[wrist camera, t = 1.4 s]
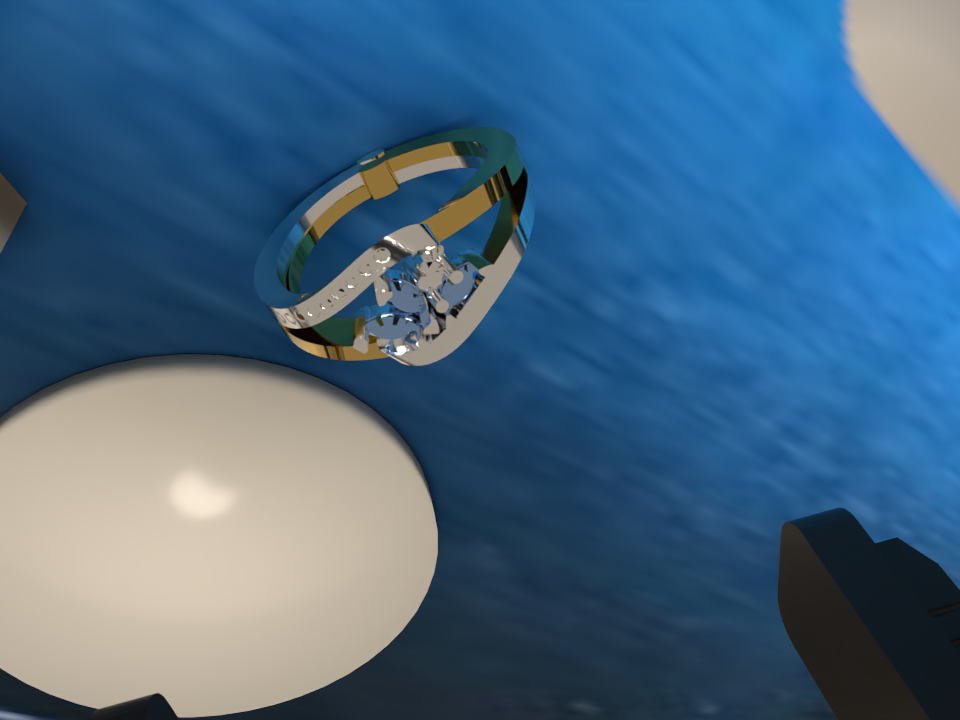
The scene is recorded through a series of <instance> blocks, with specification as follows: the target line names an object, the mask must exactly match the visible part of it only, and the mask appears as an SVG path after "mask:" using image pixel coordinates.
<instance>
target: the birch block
mask: <svg viewBox="0 0 960 720" xmlns="http://www.w3.org/2000/svg"><path fill="white" fill-rule="evenodd" d="M26 204H27V202H26V201H25V200H24V199H23V198H22V197H21V196H20V195H19V193H18V192H17V191H16V190H15V189H14V188H13V187H12V186H11V184H10V183H9V182H8V181H7V180H6V179H5V178H4V176H3V175H2V174H1V173H0V253H1V251H2V249H3V247H4V246H5V244H6V242H7V240H8V238H9V236H10V234H11V232H12V231H13V229H14V227H15V225H16V223H17V221H18V219H19V217H20V216H21V214H22V212H23V210H24V208H25V206H26Z"/></svg>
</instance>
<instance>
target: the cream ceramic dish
mask: <svg viewBox="0 0 960 720" xmlns="http://www.w3.org/2000/svg"><path fill="white" fill-rule="evenodd" d="M437 554H438V531H437V525H436V520H435V515H434V509H433V505H432V500H431V496H430V491H429V486H428V484H427V481H426V479H425V476H424V473H423V471H422V468H421V466H420V464H419V462H418V461H417V459H416V457H415V456H414V454H413V452H412V451H411V449H410V447H409V446H408V444H407V443H406V442H405V441H404V440H403V438H402V437H401V436H400V435H399V434H398V432H397V431H396V430H395V429H394V428H393V427H392V426H391V425H390V424H389V423H388V422H387V421H386V420H385V419H383V418H382V417H381V416H380V415H379V414H378V413H377V412H376V411H374V410H373V409H372V408H371V407H369V406H368V405H366V404H365V403H363V402H362V401H360V400H359V399H357V398H356V397H354V396H353V395H351V394H350V393H348V392H346V391H344V390H342V389H340V388H338V387H336V386H334V385H332V384H330V383H328V382H326V381H324V380H322V379H320V378H317V377H314V376H312V375H309V374H306V373H303V372H300V371H297V370H295V369H292V368H289V367H285V366H281V365H277V364H272V363H268V362H264V361H260V360H255V359H248V358H240V357H232V356H224V355H201V354H177V355H166V356H154V357H144V358H138V359H133V360H128V361H123V362H118V363H112V364H108V365H105V366H101V367H98V368H95V369H92V370H88V371H85V372H82V373H79V374H75V375H73V376H71V377H68V378H66V379H64V380H62V381H59V382H57V383H55V384H53V385H50V386H48V387H46V388H44V389H42V390H40V391H38V392H37V393H35V394H33V395H32V396H30V397H28V398H27V399H25V400H24V401H22V402H20V403H19V404H17V405H15V406H14V407H13V408H11V409H10V410H9V411H8V412H6V413H5V414H4V415H3V416H2V417H0V668H1V669H3V670H4V671H6V672H8V673H9V674H11V675H13V676H15V677H16V678H18V679H20V680H21V681H23V682H25V683H27V684H29V685H31V686H33V687H35V688H38V689H40V690H42V691H44V692H46V693H49V694H51V695H54V696H56V697H59V698H62V699H65V700H68V701H71V702H74V703H77V704H81V705H85V706H89V707H93V708H97V709H100V708H104V707H108V706H111V705H115V704H119V703H122V702H126V701H129V700H133V699H137V698H140V697H144V696H148V695H151V694H155V693H159V694H161V695H163V696H164V697H165V699H166V700H167V701H168V703H169V704H170V706H171V707H172V709H173V711H174V712H175V714H176V715H177V717H201V716H214V715H224V714H230V713H237V712H243V711H249V710H253V709H258V708H262V707H266V706H271V705H275V704H278V703H281V702H284V701H287V700H290V699H294V698H297V697H300V696H302V695H305V694H307V693H310V692H312V691H314V690H317V689H319V688H322V687H324V686H326V685H328V684H330V683H332V682H334V681H336V680H338V679H340V678H342V677H343V676H345V675H347V674H349V673H350V672H352V671H353V670H355V669H357V668H358V667H360V666H361V665H363V664H364V663H366V662H367V661H369V660H370V659H371V658H372V657H374V656H375V655H376V654H377V653H379V652H380V651H381V650H382V649H384V648H385V647H386V646H387V645H388V644H389V643H390V642H391V641H392V640H393V639H394V638H395V637H396V636H397V635H398V634H399V633H400V632H401V631H402V630H403V629H404V627H405V626H406V625H407V623H408V622H409V621H410V619H411V618H412V617H413V615H414V614H415V613H416V611H417V610H418V608H419V606H420V604H421V602H422V601H423V599H424V597H425V595H426V593H427V591H428V588H429V585H430V583H431V580H432V577H433V574H434V570H435V565H436V559H437Z"/></svg>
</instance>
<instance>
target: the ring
mask: <svg viewBox="0 0 960 720" xmlns="http://www.w3.org/2000/svg"><path fill="white" fill-rule="evenodd" d="M356 163H357V164H356V165H355V166H353V167H351V168H349V169H348V170H346V171H344V172H342V173H341V174H339V175H338V176H336V177H334V178H333V179H331V180H330V181H328V182H327V183H325V184H324V185H323V186H321V187H320V188H318V189H317V190H316V191H315V192H313V193H312V194H311V195H309V196H308V197H307V198H306V199H305V200H303V201H302V202H301V203H300V204H299V205H298V206H297V207H296V208H295V209H294V210H293V211H292V212H291V213H290V214H289V215H288V216H287V217H286V218H285V219H284V220H283V221H282V222H281V223H280V225H279V226H278V227H277V228H276V230H275V231H274V232H273V234H272V235H271V236H270V238H269V239H268V241H267V242H266V244H265V246H264V247H263V249H262V251H261V253H260V255H259V257H258V260H257V263H256V266H255V270H254V285H255V289H256V291H257V293H258V295H259V297H260V298H261V300H262V301H263V303H264V305H265V306H266V308H267V309H268V311H269V312H270V314H271V315H272V316H273V318H274V319H275V320H276V321H277V322H278V324H279V325H280V327H281V328H282V329H283V331H284V332H285V334H286V335H287V336H288V338H289V339H290V340H291V341H292V342H293V343H294V344H296V345H297V346H298V347H300V348H301V349H303V350H305V351H307V352H309V353H311V354H314V355H317V356H320V357H324V358H329V359H335V360H350V361H354V360H370V359H379V358H385V357H391V358H393V359H395V360H396V361H398V362H400V363H402V364H405V365H410V366H422V365H427V364H431V363H433V362H436V361H438V360H440V359H442V358H444V357H446V356H447V355H449V354H450V353H451V352H453V351H454V350H455V349H456V348H458V347H459V346H460V345H461V344H462V343H463V342H464V341H465V340H466V339H467V338H468V336H469V335H470V334H471V333H472V332H473V331H474V329H475V328H476V327H477V326H478V324H479V323H480V322H481V320H482V319H483V318H484V316H485V315H486V313H487V312H488V311H489V309H490V308H491V306H492V305H493V303H494V302H495V301H496V299H497V298H498V296H499V295H500V293H501V292H502V290H503V289H504V287H505V286H506V284H507V283H508V281H509V279H510V278H511V276H512V274H513V273H514V271H515V269H516V267H517V266H518V264H519V262H520V260H521V258H522V256H523V253H524V251H525V249H526V246H527V243H528V241H529V238H530V234H531V231H532V226H533V221H534V215H535V192H534V187H533V184H532V181H531V178H530V175H529V172H528V169H527V167H526V164H525V161H524V160H523V158H522V156H521V153H520V151H519V148H518V145H517V143H516V140H515V138H514V137H513V136H512V135H511V134H510V133H508V132H506V131H504V130H500V129H496V128H487V127H475V128H464V129H457V130H451V131H446V132H442V133H438V134H434V135H430V136H426V137H423V138H420V139H417V140H414V141H411V142H408V143H405V144H402V145H400V146H397V147H395V148H392V149H389V150H387V151H385V150H384V149H379V150H376V151H373V152H371V153H368V154H366V155H364V156H363V157H361V158H360V159H358V160H357V161H356ZM454 168H477V169H479V170H478V171H477V172H476V173H475V174H474V176H473V177H472V178H471V179H470V180H469V181H468V182H467V183H466V184H465V185H464V186H463V187H462V188H461V189H460V190H459V191H458V192H457V193H456V194H455V195H454V196H453V197H452V198H451V199H450V200H449V201H448V202H446V203H445V204H444V205H443V206H442V207H441V208H440V209H439V210H438V211H437V212H436V213H435V214H434V215H433V216H432V217H430V218H428V219H427V220H425V221H423V222H421V223H419V224H414V225H410V226H407V227H404V228H401V229H399V230H397V231H395V232H393V233H391V234H390V235H388V236H386V237H384V238H382V239H380V240H379V241H377V242H376V243H375V244H373V245H372V246H371V247H370V248H368V249H367V250H366V251H365V252H364V253H363V254H361V255H360V256H359V257H358V258H357V259H356V260H355V261H354V262H352V263H351V264H350V265H349V266H348V267H347V268H346V269H344V270H343V271H342V272H341V273H340V274H338V275H337V276H336V277H335V278H333V279H332V280H331V281H330V282H328V283H327V284H325V285H324V286H322V287H321V288H319V289H317V290H315V291H313V292H311V293H308V294H302V295H300V280H301V274H302V271H303V267H304V265H305V262H306V260H307V258H308V256H309V254H310V252H311V250H312V249H313V247H314V246H315V244H316V243H317V242H318V240H319V239H320V238H321V236H322V235H323V234H324V233H325V232H326V231H327V230H328V229H329V228H330V227H331V226H332V225H333V224H334V223H335V222H336V221H337V220H338V219H340V218H341V217H342V216H343V215H345V214H346V213H347V212H349V211H350V210H351V209H353V208H354V207H356V206H357V205H359V204H360V203H362V202H364V201H365V200H367V199H369V198H372V199H379V198H382V197H385V196H387V195H389V194H391V193H393V192H395V191H396V190H397V189H398V188H399V187H400V185H399V184H400V183H402V182H405V181H407V180H410V179H413V178H416V177H419V176H422V175H425V174H428V173H432V172H436V171H441V170H447V169H454ZM501 198H502V201H501V206H500V210H499V214H498V217H497V220H496V223H495V225H494V228H493V230H492V233H491V235H490V237H489V239H488V241H487V243H486V245H485V247H484V249H483V251H482V253H481V254H479V253H477V252H476V251H475V250H473V249H468V250H465V251H463V252H460V253H458V254H459V257H458V258H455V259H453V260H452V261H451V260H450V259H449V258H448V257H447V256H446V255H445V254H444V253H443V252H444V247H443V246H442V244H441V241H442V240H444V239H446V238H447V237H449V236H450V235H452V234H454V233H455V232H457V231H458V230H460V229H461V228H463V227H464V226H466V225H467V224H469V223H470V222H472V221H473V220H475V219H476V218H477V217H479V216H480V215H481V214H483V213H484V212H485V211H487V210H488V209H489V208H490V207H492V206H493V205H494V204H495V203H496V202H498V201H499V200H500V199H501ZM411 254H413V255H412V256H411V257H407V256H409V255H411ZM405 257H407V258H405ZM404 258H405V259H404ZM402 259H404V260H403V263H402V265H403V267H404V268H403V270H402V271H399V270H392V269H389V268H390V267H392V266H393V265H394V264H396V263H397V262H399V261H400V260H402ZM372 282H374V288H375V294H376V299H377V302H378V304H375V305H373V306H371V307H369V308H368V307H367V306H365V307H363V308H361V309H359V310H358V311H356V312H355V318H335V317H331V316H332V315H334V314H335V313H337V312H338V311H340V310H341V309H342V308H344V307H345V306H346V305H348V304H349V303H350V302H351V301H352V300H354V299H355V298H356V297H357V296H358V295H359V294H360V293H361V292H363V291H364V290H365V289H366V288H367V287H368V286H369V285H370V284H371V283H372ZM415 332H416V334H414V335H412V334H413V333H415ZM409 335H411V336H409Z"/></svg>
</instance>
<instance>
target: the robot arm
mask: <svg viewBox="0 0 960 720" xmlns="http://www.w3.org/2000/svg"><path fill="white" fill-rule="evenodd" d="M778 604H779V609H780V613H781V617H782V620H783V623H784V626H785V628H786V631H787V633H788V635H789V638H790V640H791V642H792V643H793V645H794V647H795V649H796V650H797V652H798V654H799V655H800V657H801V659H802V660H803V662H804V664H805V665H806V667H807V669H808V671H809V672H810V674H811V676H812V677H813V679H814V681H815V682H816V684H817V686H818V687H819V689H820V691H821V693H822V694H823V696H824V698H825V699H826V701H827V703H828V704H829V706H830V708H831V709H832V711H833V713H834V714H835V716H836V718H837V720H960V590H959V589H958V588H957V586H956V585H955V584H954V583H953V582H952V580H951V579H950V578H949V577H948V575H947V574H946V573H945V572H944V571H943V569H942V568H941V567H940V566H939V565H938V564H937V563H936V562H934V561H933V560H931V559H930V558H928V557H926V556H925V555H923V554H922V553H920V552H919V551H917V550H916V549H914V548H913V547H911V546H909V545H908V544H906V543H905V542H903V541H902V540H900V539H899V538H893V539H890V540H886V541H883V542H879V543H874V542H873V540H872V539H871V538H870V536H869V535H868V534H867V532H866V531H865V530H864V529H863V527H862V526H861V525H860V523H859V522H858V521H857V520H856V518H855V517H854V516H853V515H852V514H851V513H850V512H849V511H847V510H846V509H843V508H836V509H833V510H829V511H825V512H822V513H818V514H814V515H811V516H807V517H804V518H800V519H796V520H793V521H789V522H786V523H784V525H783V527H782V531H781V546H780V563H779V581H778ZM89 720H179V718H178V717H177V715H176V714H175V712H174V711H173V709H172V707H171V706H170V704H169V703H168V701H167V700H166V699H165V697H164V696H163V695H161V694H159V693H155V694H151V695H148V696H144V697H140V698H137V699H133V700H129V701H126V702H122V703H119V704H115V705H111V706H108V707H104V708H100V709H97V710H96V711H94V712H93V714H92V715H91V717H90V719H89Z"/></svg>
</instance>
